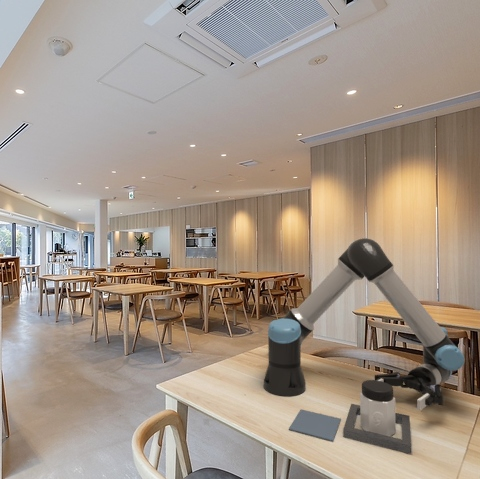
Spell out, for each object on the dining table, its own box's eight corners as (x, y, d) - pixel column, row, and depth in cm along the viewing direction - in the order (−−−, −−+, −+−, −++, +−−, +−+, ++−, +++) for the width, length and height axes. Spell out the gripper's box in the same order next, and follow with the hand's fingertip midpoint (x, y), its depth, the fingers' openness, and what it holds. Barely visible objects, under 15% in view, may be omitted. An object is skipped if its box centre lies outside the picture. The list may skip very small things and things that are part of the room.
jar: (360, 434, 86) (359, 389, 86) (360, 419, 93) (360, 377, 94) (397, 441, 83) (396, 394, 83) (394, 425, 90) (393, 382, 91)
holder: (343, 436, 84) (343, 429, 85) (351, 410, 99) (351, 403, 99) (411, 454, 77) (411, 445, 77) (409, 422, 92) (409, 415, 92)
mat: (288, 430, 88) (288, 428, 88) (300, 410, 98) (300, 409, 98) (333, 441, 82) (333, 440, 82) (340, 419, 93) (340, 418, 93)
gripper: (468, 403, 97) (441, 427, 83) (387, 377, 116) (355, 394, 103) (467, 378, 97) (441, 398, 84) (387, 357, 116) (355, 370, 103)
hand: (394, 396), depth 93 cm, fingers open, 13 cm apart
